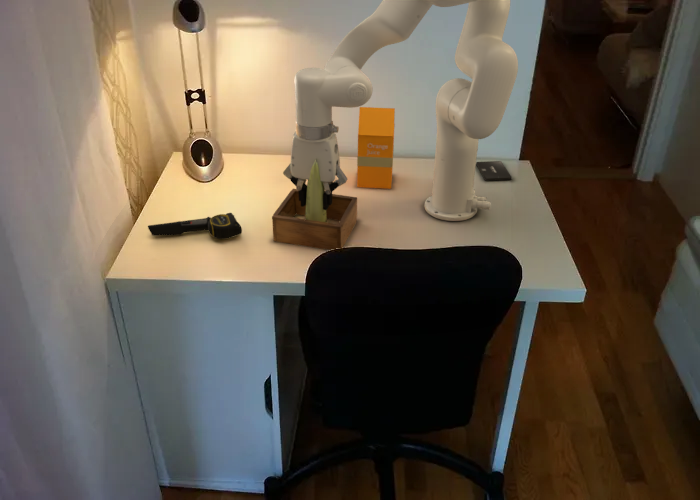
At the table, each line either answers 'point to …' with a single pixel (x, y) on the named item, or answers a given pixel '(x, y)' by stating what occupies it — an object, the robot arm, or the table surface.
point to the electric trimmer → (179, 227)
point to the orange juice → (375, 147)
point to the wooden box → (314, 223)
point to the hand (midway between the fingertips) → (315, 204)
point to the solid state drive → (493, 170)
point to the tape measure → (224, 226)
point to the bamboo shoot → (315, 196)
